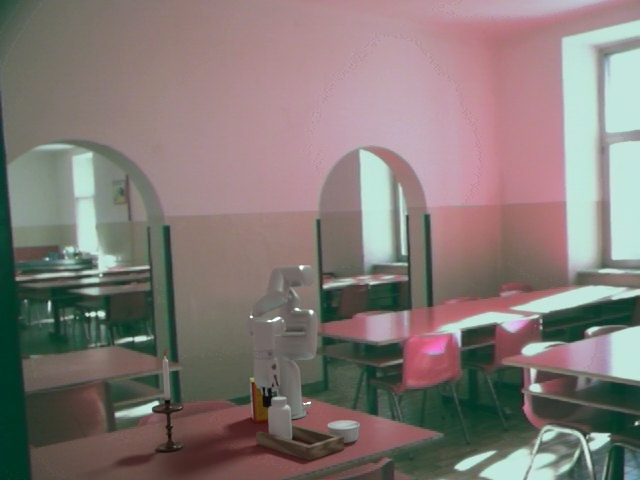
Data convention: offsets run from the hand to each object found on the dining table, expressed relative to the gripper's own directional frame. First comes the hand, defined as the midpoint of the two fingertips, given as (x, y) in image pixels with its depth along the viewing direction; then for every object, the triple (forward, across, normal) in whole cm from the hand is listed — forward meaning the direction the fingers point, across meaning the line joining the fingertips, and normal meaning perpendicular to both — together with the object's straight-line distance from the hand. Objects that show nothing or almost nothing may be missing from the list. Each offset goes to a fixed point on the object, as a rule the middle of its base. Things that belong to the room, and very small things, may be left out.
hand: (267, 406), depth 251 cm
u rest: (+11, -16, 0) cm, 20 cm away
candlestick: (+12, +18, +29) cm, 36 cm away
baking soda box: (+11, +24, -14) cm, 30 cm away
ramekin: (+12, -22, -15) cm, 29 cm away
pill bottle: (+12, -6, 0) cm, 13 cm away
